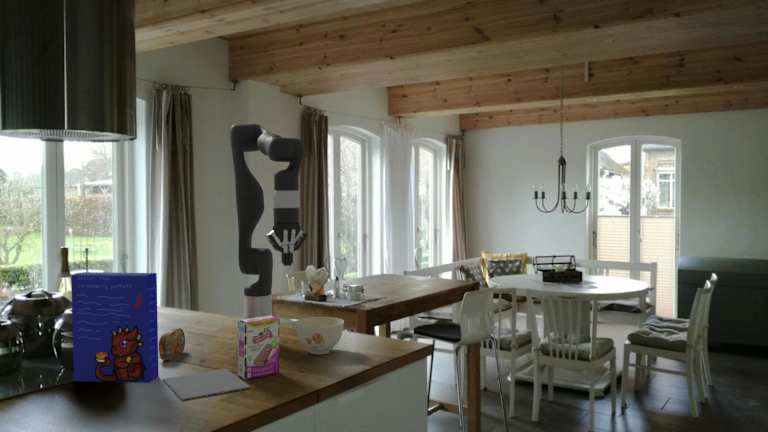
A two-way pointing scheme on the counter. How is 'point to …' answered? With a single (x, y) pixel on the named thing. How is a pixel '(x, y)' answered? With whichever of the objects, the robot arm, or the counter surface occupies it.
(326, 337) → the bowl
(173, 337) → the tin
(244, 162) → the robot arm
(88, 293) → the cereal box
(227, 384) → the mat
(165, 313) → the counter surface
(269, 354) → the candy bar box
